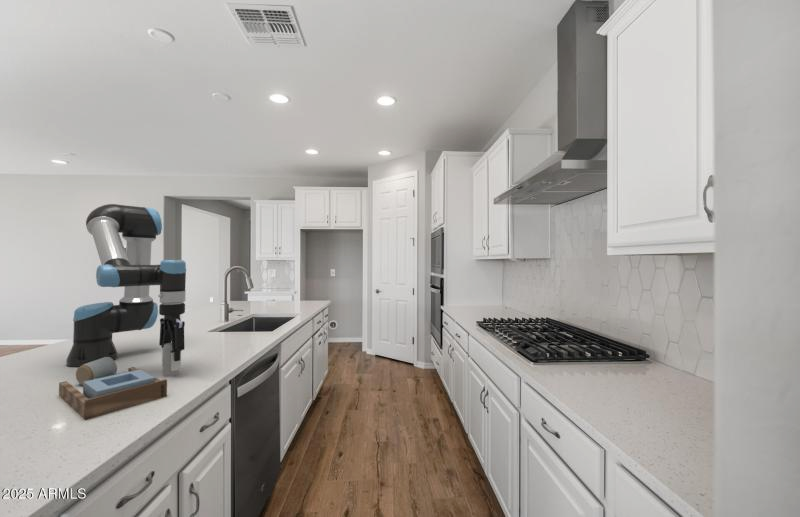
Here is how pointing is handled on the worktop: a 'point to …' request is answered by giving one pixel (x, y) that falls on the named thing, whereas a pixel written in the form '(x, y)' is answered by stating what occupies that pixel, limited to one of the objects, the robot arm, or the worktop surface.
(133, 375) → the blue recessed block
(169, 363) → the beverage can
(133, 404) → the bay
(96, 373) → the ceramic mug
